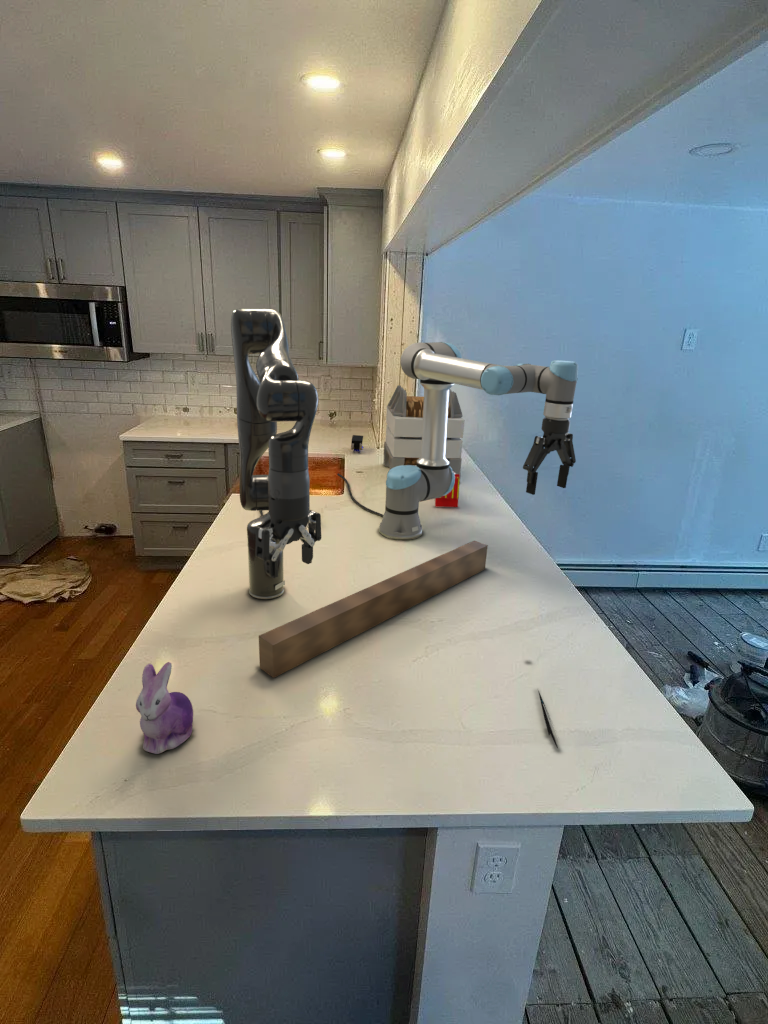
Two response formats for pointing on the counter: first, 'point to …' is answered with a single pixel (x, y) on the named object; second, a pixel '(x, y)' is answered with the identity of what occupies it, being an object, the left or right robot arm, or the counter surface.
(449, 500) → the toy
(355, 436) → the figurine character
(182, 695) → the figurine
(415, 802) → the counter surface
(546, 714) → the feather
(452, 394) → the white slatted box
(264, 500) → the left robot arm
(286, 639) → the bar
